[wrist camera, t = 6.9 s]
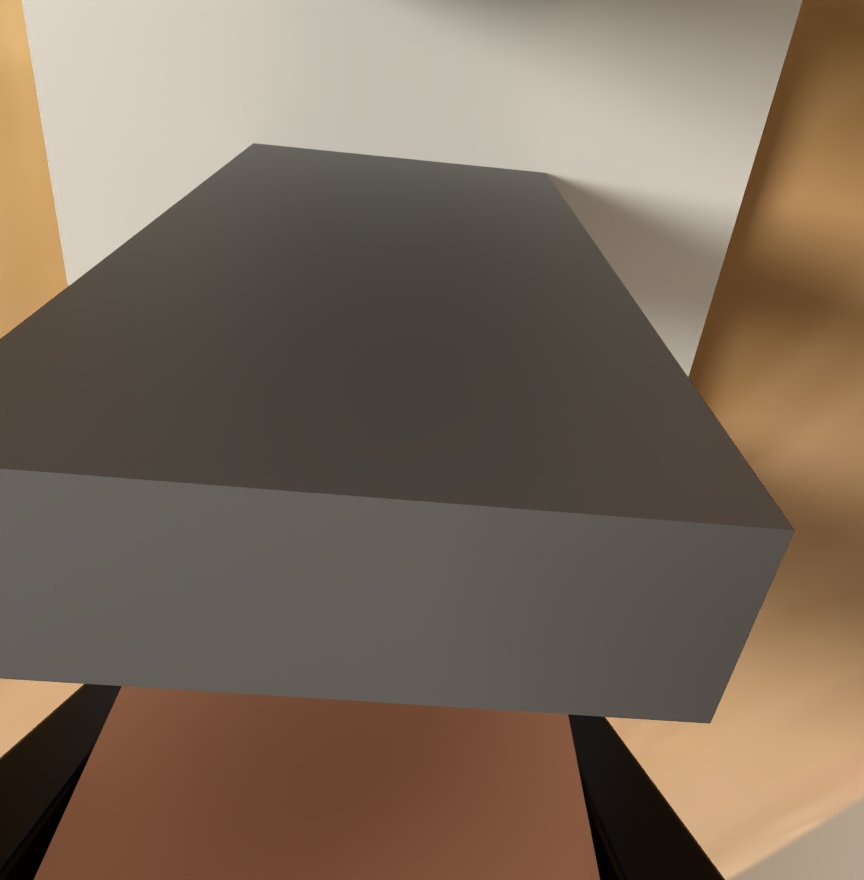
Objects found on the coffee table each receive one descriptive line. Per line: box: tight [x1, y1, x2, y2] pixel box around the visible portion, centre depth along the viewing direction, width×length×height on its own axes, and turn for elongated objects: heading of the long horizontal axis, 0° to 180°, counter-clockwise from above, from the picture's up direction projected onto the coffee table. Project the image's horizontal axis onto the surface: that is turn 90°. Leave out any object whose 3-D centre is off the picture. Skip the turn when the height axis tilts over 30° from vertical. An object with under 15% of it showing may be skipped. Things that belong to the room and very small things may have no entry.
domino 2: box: [34, 686, 600, 880], centre depth 9 cm, size 2×5×10 cm, turn 85°
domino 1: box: [0, 143, 794, 723], centre depth 9 cm, size 2×5×10 cm, turn 84°
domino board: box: [22, 0, 803, 377], centre depth 12 cm, size 24×12×1 cm, turn 174°
